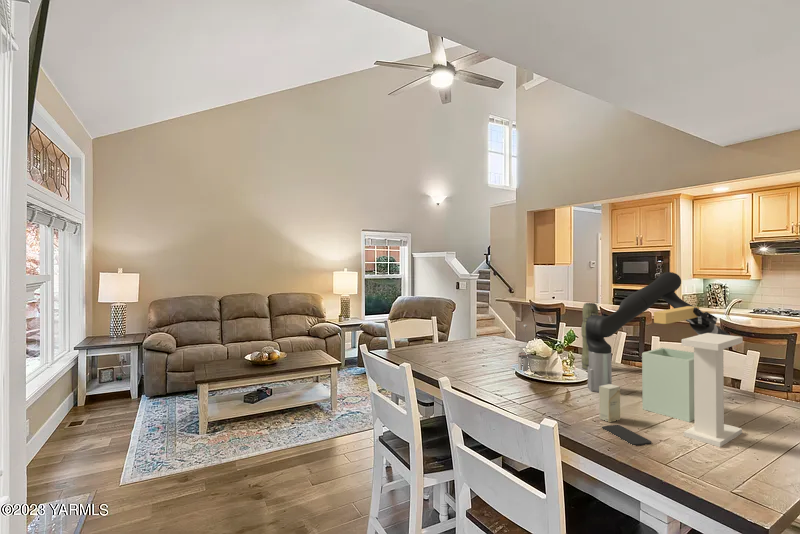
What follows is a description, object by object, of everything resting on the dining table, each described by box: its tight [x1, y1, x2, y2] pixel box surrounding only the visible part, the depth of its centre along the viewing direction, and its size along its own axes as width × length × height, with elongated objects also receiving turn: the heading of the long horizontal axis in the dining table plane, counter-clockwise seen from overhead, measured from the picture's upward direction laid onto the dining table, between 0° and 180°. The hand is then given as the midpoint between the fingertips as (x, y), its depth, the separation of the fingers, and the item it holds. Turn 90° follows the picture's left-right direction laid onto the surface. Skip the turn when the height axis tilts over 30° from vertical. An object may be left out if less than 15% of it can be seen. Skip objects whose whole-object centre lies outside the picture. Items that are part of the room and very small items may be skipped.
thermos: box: [580, 302, 599, 371], centre depth 221 cm, size 9×12×35 cm
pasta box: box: [653, 305, 700, 325], centre depth 159 cm, size 28×4×4 cm, turn 124°
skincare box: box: [598, 384, 621, 423], centre depth 151 cm, size 6×4×12 cm
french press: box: [517, 324, 529, 371], centre depth 215 cm, size 10×12×25 cm
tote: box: [641, 347, 695, 423], centre depth 158 cm, size 16×16×22 cm
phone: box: [601, 424, 652, 446], centre depth 137 cm, size 7×1×15 cm
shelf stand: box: [681, 333, 744, 448], centre depth 136 cm, size 20×10×32 cm, turn 123°
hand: (688, 309), depth 164 cm, fingers closed on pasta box, 4 cm apart
